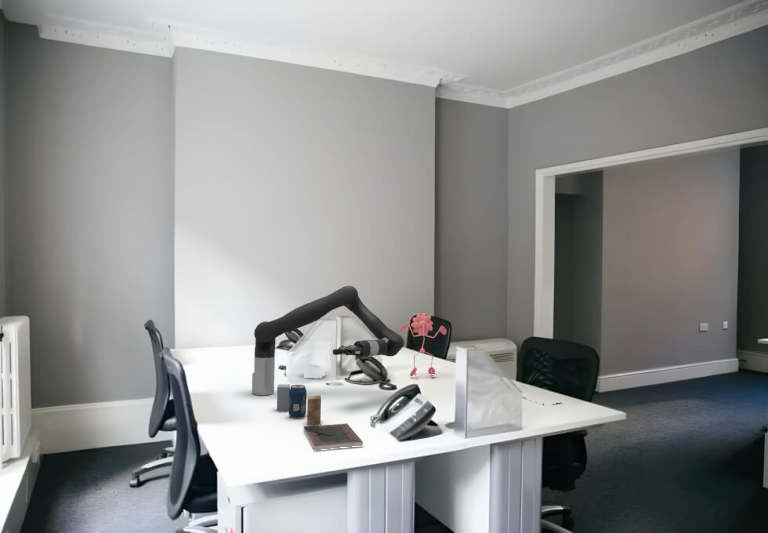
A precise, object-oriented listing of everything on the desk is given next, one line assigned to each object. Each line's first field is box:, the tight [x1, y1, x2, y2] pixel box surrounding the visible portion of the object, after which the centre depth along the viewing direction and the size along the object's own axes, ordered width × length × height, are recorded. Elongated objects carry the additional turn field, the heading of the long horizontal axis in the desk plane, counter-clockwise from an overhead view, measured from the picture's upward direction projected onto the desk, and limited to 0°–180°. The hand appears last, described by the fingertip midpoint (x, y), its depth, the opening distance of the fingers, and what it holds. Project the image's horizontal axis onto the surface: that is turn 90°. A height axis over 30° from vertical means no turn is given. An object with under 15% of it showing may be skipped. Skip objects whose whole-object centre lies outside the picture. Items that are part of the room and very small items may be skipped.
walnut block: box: [306, 394, 322, 426], centre depth 208 cm, size 5×5×10 cm
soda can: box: [288, 384, 308, 419], centre depth 216 cm, size 7×7×12 cm
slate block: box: [276, 383, 291, 412], centre depth 225 cm, size 5×5×10 cm
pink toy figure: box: [398, 312, 447, 378], centre depth 296 cm, size 15×26×35 cm, turn 102°
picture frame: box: [303, 423, 364, 451], centre depth 190 cm, size 16×2×22 cm
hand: (333, 352), depth 227 cm, fingers closed
